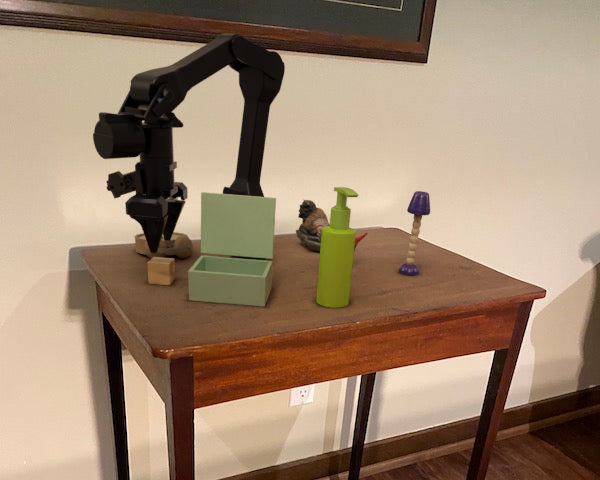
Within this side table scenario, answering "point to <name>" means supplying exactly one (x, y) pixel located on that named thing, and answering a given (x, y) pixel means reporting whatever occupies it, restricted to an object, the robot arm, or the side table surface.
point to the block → (161, 271)
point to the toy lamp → (415, 229)
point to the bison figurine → (311, 224)
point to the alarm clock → (166, 246)
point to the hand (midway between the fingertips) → (160, 246)
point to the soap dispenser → (336, 254)
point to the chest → (230, 280)
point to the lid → (237, 225)
